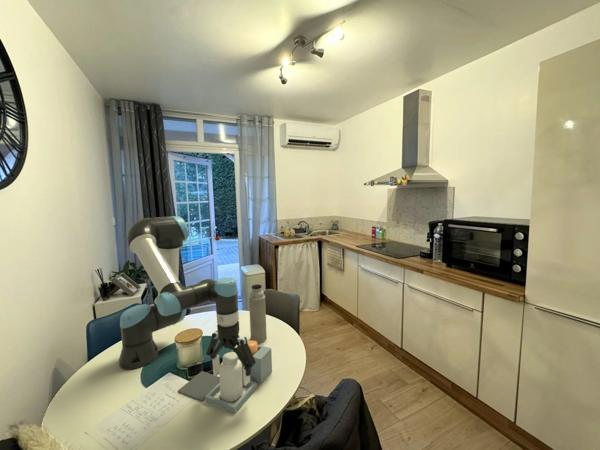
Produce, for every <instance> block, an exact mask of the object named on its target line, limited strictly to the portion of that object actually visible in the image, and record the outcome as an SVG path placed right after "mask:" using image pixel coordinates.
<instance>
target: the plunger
mask: <svg viewBox="0 0 600 450" xmlns="http://www.w3.org/2000/svg"><path fill="white" fill-rule="evenodd" d="M247 343H248V346H249V348H250V350H251V352H252V355H254V354H255V353H256V352H257V351H258V346H257V345H258V343H257V342H256V341H251V340H247Z"/></svg>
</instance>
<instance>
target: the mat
mask: <svg viewBox="0 0 600 450" xmlns="http://www.w3.org/2000/svg"><path fill="white" fill-rule="evenodd" d="M219 383H220V376H217V375H216V376H214V375H213V374H212V373H209V372H207V371H203V370H201V371H200V372H199V373H198V374H197V375H195V376H194V377H193V378H191V379H190V380H189V381H187V383H185V384H184V385H182V386H181V387H180V388H179V389H178V390H177V393H179V394H181V395H184V396H187V397H189V398H191V399H194V400H197V401H199V402H203V401H205V396H206V395H207V394H208V393H209V392H210V391H211V390H212V389H213V388H215V387H216V386H217V385H218V384H219Z"/></svg>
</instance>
